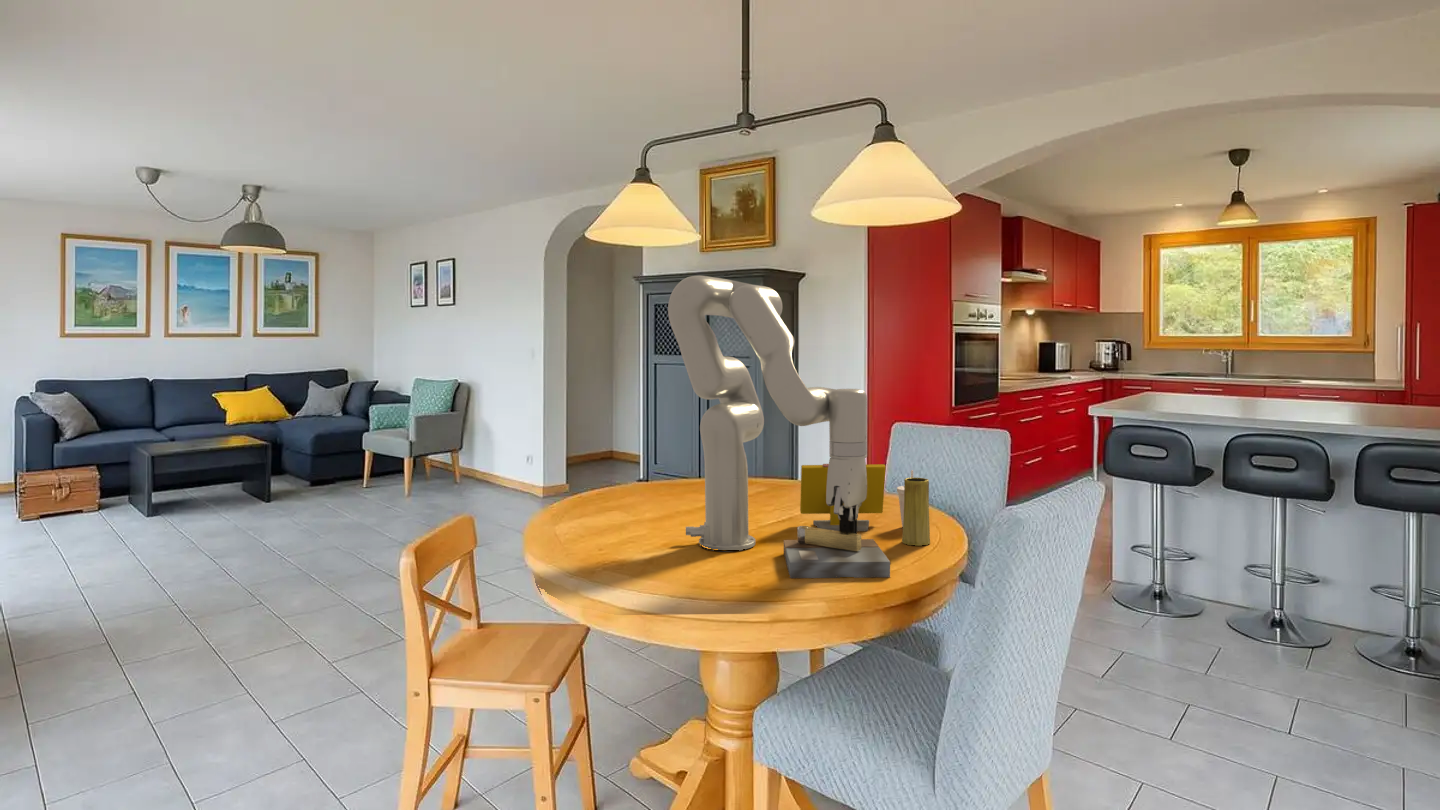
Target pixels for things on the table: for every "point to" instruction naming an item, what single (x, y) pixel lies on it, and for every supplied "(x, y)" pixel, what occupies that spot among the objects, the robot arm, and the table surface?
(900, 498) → the smoothie
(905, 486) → the vase
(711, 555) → the table surface
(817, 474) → the toy computer monitor
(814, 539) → the latch bar
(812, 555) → the door mockup
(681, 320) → the robot arm
